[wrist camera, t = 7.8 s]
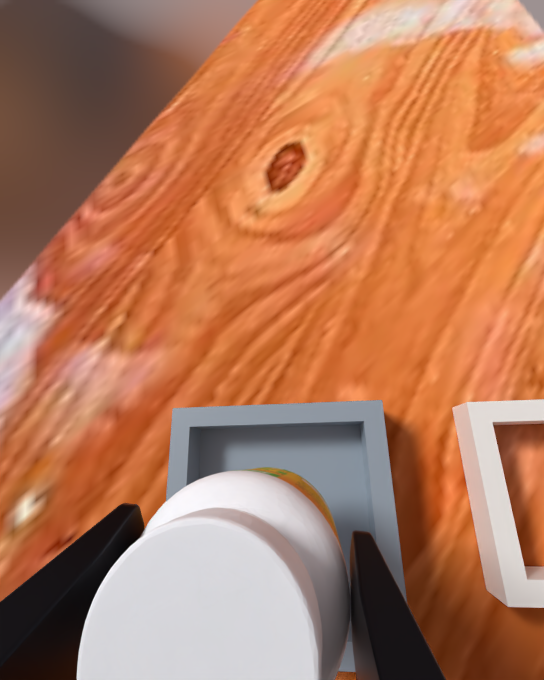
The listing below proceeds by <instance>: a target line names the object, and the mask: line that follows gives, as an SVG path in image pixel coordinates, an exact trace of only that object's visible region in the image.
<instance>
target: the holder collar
mask: <svg viewBox="0 0 544 680" xmlns="http://www.w3.org/2000/svg"><path fill="white" fill-rule="evenodd" d="M452 410H453V415H454V420H455V426H456V431H457V436H458V441H459V447H460V452H461V457H462V463H463V468H464V473H465V479H466V484H467V489H468V495H469V500H470V505H471V511H472V516H473V521H474V527H475V532H476V537H477V543H478V548H479V553H480V559H481V564H482V569H483V574H484V580H485V585H486V590H487V591H488V592H490V593H491V594H492V595H493V596H495V597H496V598H497V599H499V600H500V601H501V602H502V603H504V604H505V605H506V606H507V607H531V608H544V567H539V566H524V562H523V558H522V553H521V549H520V544H519V540H518V535H517V531H516V526H515V522H514V517H513V513H512V508H511V504H510V499H509V495H508V490H507V486H506V481H505V477H504V472H503V468H502V463H501V459H500V454H499V450H498V445H497V441H496V436H495V432H494V427H493V425H515V424H544V400H517V401H490V402H466V403H464V404H461V405H458V406H456V407H453V408H452Z"/></svg>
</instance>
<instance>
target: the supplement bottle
mask: <svg viewBox="0 0 544 680" xmlns="http://www.w3.org/2000/svg"><path fill="white" fill-rule="evenodd" d="M350 606H351V601H350V588H349V580H348V574H347V568H346V564H345V559H344V555H343V551H342V548H341V545H340V541H339V538H338V534H337V530H336V527H335V523H334V520H333V517H332V514H331V512H330V509H329V507H328V505H327V504H326V502H325V500H324V498H323V497H322V496H321V494H320V493H319V492H318V490H317V489H316V488H315V487H314V486H313V485H312V484H311V483H309V482H308V481H307V480H306V479H304V478H303V477H301V476H299V475H298V474H296V473H294V472H291V471H289V470H285V469H281V468H275V467H262V468H255V469H246V470H233V471H226V472H221V473H217V474H213V475H210V476H207V477H204V478H201V479H199V480H197V481H195V482H193V483H191V484H189V485H187V486H186V487H184V488H183V489H181V490H180V491H178V492H177V493H176V494H174V495H173V496H172V497H171V498H170V499H169V500H167V501H166V502H165V503H164V504H163V505H162V506H161V507H160V509H159V510H158V511H157V512H156V514H155V515H154V516H153V517H152V519H151V520H150V521H149V523H148V524H147V526H146V528H145V529H144V531H143V533H142V534H141V536H140V538H139V539H138V540H137V541H136V542H135V543H133V544H132V545H131V546H130V547H129V548H128V549H127V550H126V551H125V552H124V553H123V554H122V555H121V557H120V558H119V559H118V560H117V561H116V563H115V564H114V565H113V566H112V568H111V569H110V570H109V572H108V574H107V575H106V577H105V578H104V580H103V582H102V583H101V585H100V587H99V589H98V591H97V593H96V595H95V597H94V599H93V601H92V604H91V607H90V609H89V612H88V615H87V618H86V620H85V624H84V628H83V632H82V637H81V642H80V648H79V655H78V664H77V680H335V678H336V675H337V673H338V670H339V668H340V666H341V663H342V659H343V656H344V653H345V649H346V645H347V640H348V634H349V626H350Z"/></svg>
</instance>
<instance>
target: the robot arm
mask: <svg viewBox="0 0 544 680" xmlns="http://www.w3.org/2000/svg"><path fill="white" fill-rule="evenodd" d="M143 531H144V522H143V518H142V515H141V511H140V508H139V506H138V505H137V504H129V503H123V504H121V505H119V506H118V507H117V508H116V509H114V510H113V511H112V512H111V513H109V514H108V515H107V516H106V517H104V518H103V519H102V520H101V521H100V522H98V523H97V524H96V525H95V526H93V527H92V528H91V529H90V530H88V531H87V532H86V533H85V534H84V535H82V536H81V537H80V538H79V539H77V540H76V541H75V542H74V543H72V544H71V545H70V546H69V547H68V548H66V549H65V550H64V551H63V552H61V553H60V554H59V555H58V556H56V557H55V558H54V559H53V560H51V561H50V562H49V563H48V564H47V565H45V566H44V567H43V568H42V569H40V570H39V571H38V572H37V573H35V574H34V575H33V576H32V577H31V578H29V579H28V580H27V581H26V582H24V583H23V584H22V585H21V586H19V587H18V588H17V589H16V590H14V591H13V592H12V593H11V594H10V595H8V596H7V597H6V598H5V599H3V600H2V601H1V602H0V680H77V664H78V655H79V648H80V642H81V637H82V632H83V628H84V624H85V620H86V618H87V615H88V612H89V609H90V607H91V604H92V601H93V599H94V597H95V595H96V593H97V591H98V589H99V587H100V585H101V583H102V582H103V580H104V578H105V577H106V575H107V574H108V572H109V570H110V569H111V568H112V566H113V565H114V564H115V563H116V561H117V560H118V559H119V558H120V557H121V555H122V554H123V553H124V552H125V551H126V550H127V549H128V548H129V547H130V546H131V545H132V544H133V543H135V542H136V541H137V540H138V539H139V538H140V536H141V534H142V533H143ZM350 597H351V633H352V645H353V655H354V663H355V671H356V680H446V678H445V677H444V675H443V673H442V671H441V669H440V667H439V665H438V663H437V661H436V659H435V657H434V655H433V653H432V651H431V649H430V647H429V645H428V643H427V641H426V639H425V637H424V636H423V634H422V632H421V630H420V628H419V626H418V624H417V622H416V620H415V618H414V616H413V614H412V612H411V610H410V608H409V606H408V604H407V602H406V600H405V598H404V597H403V595H402V593H401V591H400V589H399V587H398V585H397V583H396V581H395V579H394V577H393V575H392V573H391V571H390V569H389V567H388V565H387V563H386V561H385V559H384V558H383V556H382V554H381V552H380V550H379V548H378V546H377V544H376V542H375V540H374V538H373V536H372V535H371V533H370V532H367V531H359V530H354V531H353V532H352V539H351V548H350Z"/></svg>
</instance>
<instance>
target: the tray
mask: <svg viewBox="0 0 544 680" xmlns="http://www.w3.org/2000/svg"><path fill="white" fill-rule="evenodd" d="M262 467H275V468H281V469H285V470H289V471H291V472H294V473H296V474H298V475H299V476H301V477H303V478H304V479H306V480H307V481H308V482H309V483H311V484H312V485H313V486H314V487H315V488H316V489H317V490H318V492H319V493H320V494H321V496H322V497H323V498H324V500H325V502H326V504H327V505H328V507H329V509H330V512H331V514H332V517H333V520H334V523H335V527H336V530H337V534H338V538H339V541H340V545H341V548H342V551H343V555H344V559H345V564H346V568H347V574H348V580H349V588H350V548H351V539H352V532H353V531H354V530H359V531H367V532H370V533H371V535H372V536H373V538H374V540H375V542H376V544H377V546H378V548H379V550H380V552H381V554H382V556H383V558H384V559H385V561H386V563H387V565H388V567H389V569H390V571H391V573H392V575H393V577H394V579H395V581H396V583H397V585H398V587H399V589H400V591H401V593H402V595H403V597H404V598H405V600H406V602H407V598H406V590H405V582H404V574H403V565H402V557H401V549H400V541H399V533H398V525H397V517H396V509H395V501H394V493H393V484H392V476H391V468H390V460H389V452H388V444H387V436H386V428H385V420H384V412H383V403H382V400H373V401H347V402H322V403H296V404H270V405H245V406H219V407H193V408H173V413H172V426H171V440H170V454H169V467H168V481H167V495H166V501H167V500H169V499H170V498H171V497H172V496H173V495H174V494H176V493H177V492H178V491H180V490H181V489H183V488H184V487H186V486H187V485H189V484H191V483H193V482H195V481H197V480H199V479H201V478H204V477H207V476H210V475H213V474H217V473H221V472H226V471H233V470H246V469H255V468H262ZM350 601H351V597H350ZM338 671H344V672H356V671H355V663H354V655H353V645H352V633H351V606H350V626H349V634H348V640H347V645H346V649H345V653H344V656H343V659H342V663H341V666H340V668H339V670H338Z"/></svg>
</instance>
